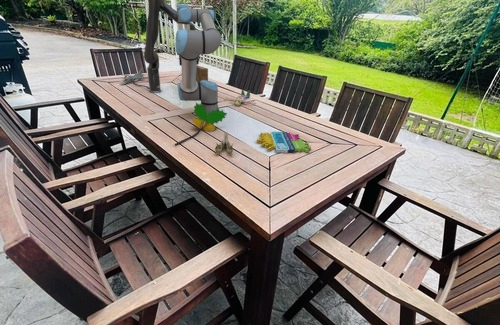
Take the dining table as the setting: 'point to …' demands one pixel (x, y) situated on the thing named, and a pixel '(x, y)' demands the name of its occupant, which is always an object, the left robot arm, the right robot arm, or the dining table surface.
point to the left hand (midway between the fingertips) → (192, 69)
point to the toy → (241, 99)
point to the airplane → (134, 77)
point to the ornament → (207, 117)
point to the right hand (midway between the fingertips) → (186, 64)
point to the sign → (283, 142)
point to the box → (201, 73)
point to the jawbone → (224, 145)
